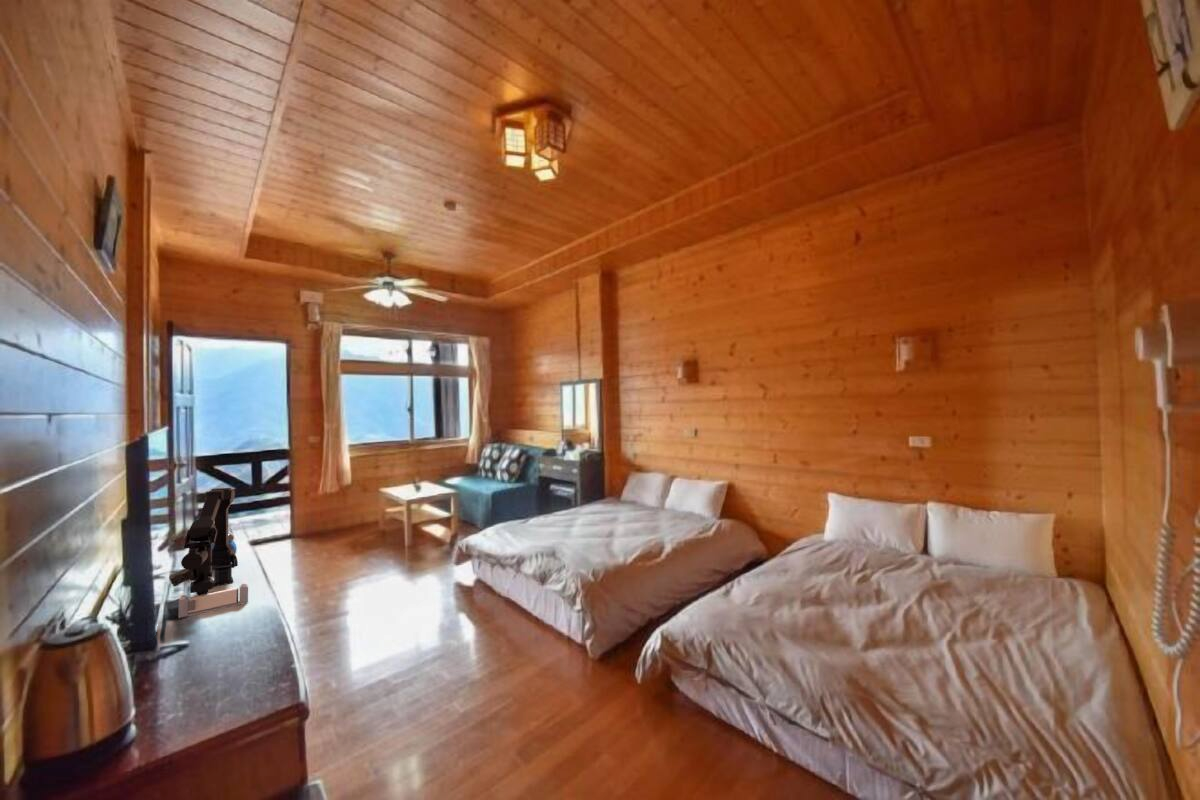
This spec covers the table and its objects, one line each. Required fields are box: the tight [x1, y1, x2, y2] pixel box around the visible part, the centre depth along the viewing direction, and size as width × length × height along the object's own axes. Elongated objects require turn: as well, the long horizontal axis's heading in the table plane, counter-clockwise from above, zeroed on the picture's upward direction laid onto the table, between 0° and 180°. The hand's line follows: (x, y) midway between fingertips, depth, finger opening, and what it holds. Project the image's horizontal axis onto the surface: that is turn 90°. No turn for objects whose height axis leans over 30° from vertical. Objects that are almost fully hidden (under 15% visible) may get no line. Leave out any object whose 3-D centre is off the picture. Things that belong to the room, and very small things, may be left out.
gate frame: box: [178, 582, 249, 619], centre depth 170 cm, size 3×19×7 cm, turn 131°
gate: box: [189, 587, 239, 613], centre depth 170 cm, size 2×14×5 cm, turn 131°
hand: (201, 602), depth 170 cm, fingers closed
